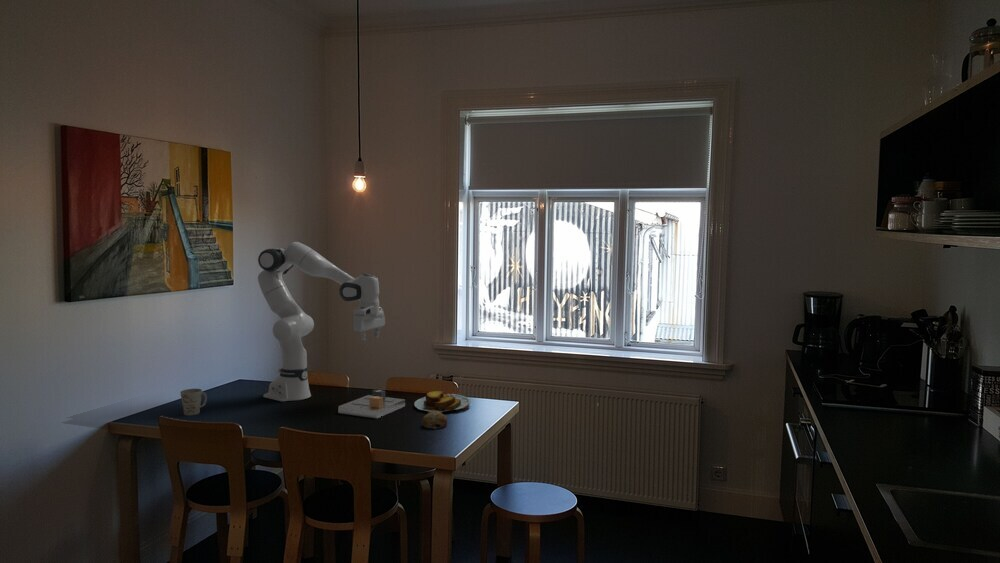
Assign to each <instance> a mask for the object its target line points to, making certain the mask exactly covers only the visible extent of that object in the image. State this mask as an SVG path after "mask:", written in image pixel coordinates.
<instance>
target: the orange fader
mask: <svg viewBox="0 0 1000 563" xmlns="http://www.w3.org/2000/svg"><path fill="white" fill-rule="evenodd" d="M369 404H370V407H376V408H380V407H383V397H379V396H372V397H370V398H369Z"/></svg>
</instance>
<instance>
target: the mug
mask: <svg viewBox="0 0 1000 563" xmlns="http://www.w3.org/2000/svg"><path fill="white" fill-rule="evenodd" d="M202 396H203V397H204V401H203V403H202ZM180 399H181V404H182V409H183V414H184V416H196V415H199V414H200V413H201V412H200V411H201V408H203V407H204V406H206V404H207V401H208V396H207V393H206V392H205V391H203V390H202V389H200V388H187V389H183V390H181V391H180ZM201 403H202V404H201Z"/></svg>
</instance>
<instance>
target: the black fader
mask: <svg viewBox="0 0 1000 563" xmlns="http://www.w3.org/2000/svg"><path fill="white" fill-rule="evenodd" d="M371 395H372V396H379V397H383V400H385V397H386V391H385V390H381V389H380V390H379V389H374V390H372V391H371Z"/></svg>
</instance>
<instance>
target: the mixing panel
mask: <svg viewBox="0 0 1000 563" xmlns="http://www.w3.org/2000/svg"><path fill="white" fill-rule="evenodd" d="M370 397H372V394H371V395H370V394H367V395H364V396H362V397H359V398H357V399H353V400H352V401H348V402H346V403H343V404H341V405H338V408H337V409H338V414H341V415H349V416H350V415H351V416H356V417H364V418H372V419H379V418H382V417H383V416H386V415H388V414H391V413H393V412H395V411H398V410H400V409H402V408H403V407H405V406H406V399H403V398H396V397H395V398H394V397H389V396H387V397H386V396H385V400H383V407H380V408H376V407H370V404H369V398H370ZM381 416H382V417H381Z"/></svg>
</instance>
